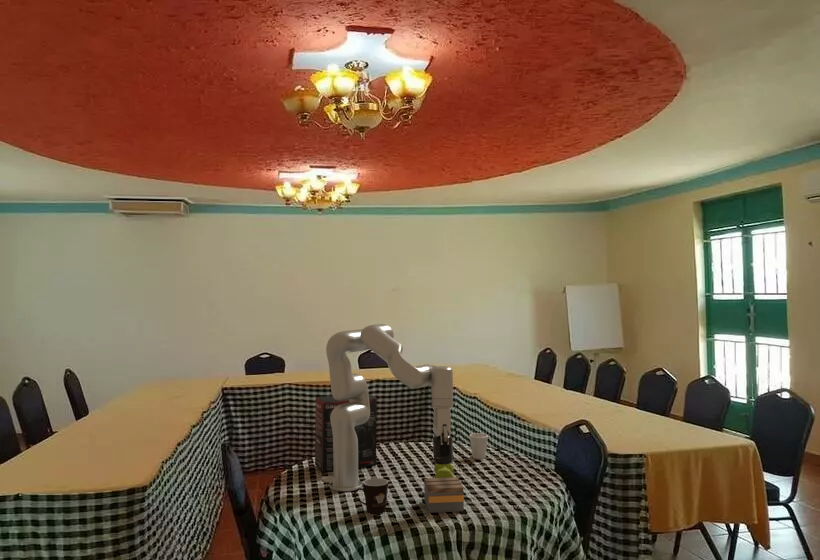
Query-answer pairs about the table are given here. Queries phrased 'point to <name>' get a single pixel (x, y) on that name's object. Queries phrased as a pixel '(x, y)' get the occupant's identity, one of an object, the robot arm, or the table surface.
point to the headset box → (325, 434)
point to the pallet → (443, 485)
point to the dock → (444, 501)
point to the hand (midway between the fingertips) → (443, 452)
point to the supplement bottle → (436, 451)
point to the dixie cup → (478, 445)
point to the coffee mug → (374, 495)
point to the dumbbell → (443, 471)
